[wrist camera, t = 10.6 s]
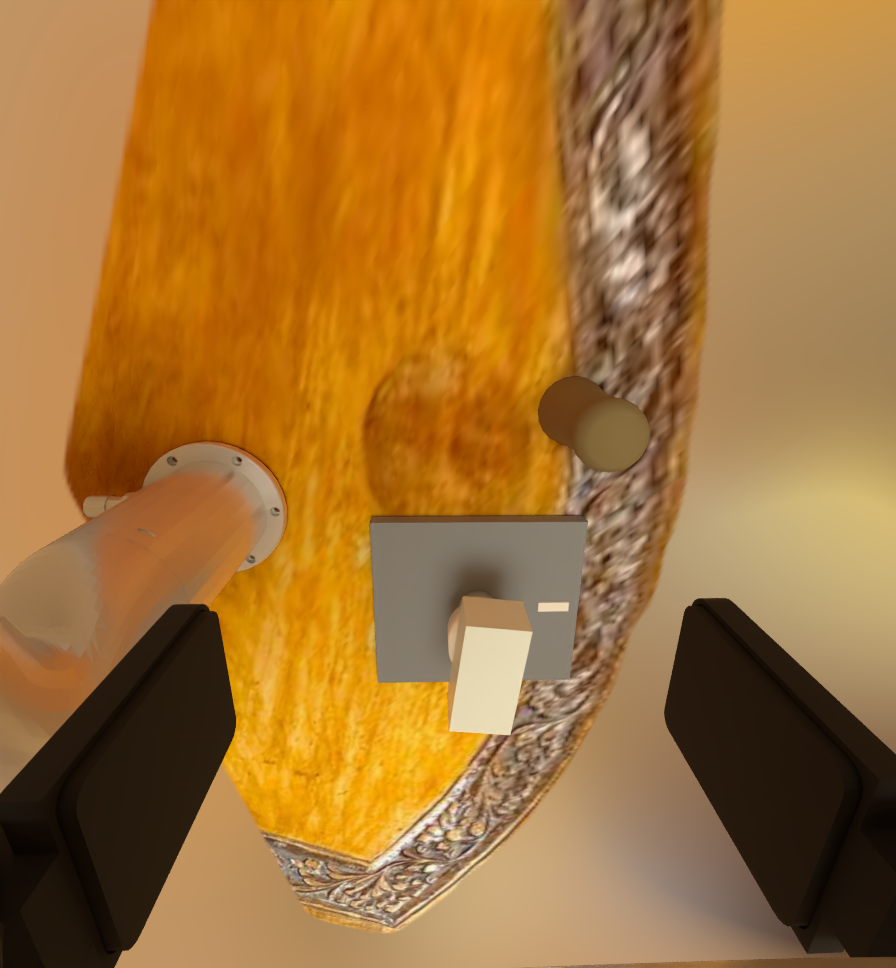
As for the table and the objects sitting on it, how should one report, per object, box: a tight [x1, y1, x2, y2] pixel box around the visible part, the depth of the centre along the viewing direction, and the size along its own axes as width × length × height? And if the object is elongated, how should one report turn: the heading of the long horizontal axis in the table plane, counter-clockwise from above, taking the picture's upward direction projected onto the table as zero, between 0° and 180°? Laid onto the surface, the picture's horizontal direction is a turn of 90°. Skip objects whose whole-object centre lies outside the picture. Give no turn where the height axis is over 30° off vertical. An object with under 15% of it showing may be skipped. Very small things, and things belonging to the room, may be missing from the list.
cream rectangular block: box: [447, 596, 533, 735], centre depth 40 cm, size 10×6×7 cm, turn 173°
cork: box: [538, 376, 649, 472], centre depth 37 cm, size 6×6×11 cm
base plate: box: [370, 515, 588, 683], centre depth 46 cm, size 20×18×4 cm
